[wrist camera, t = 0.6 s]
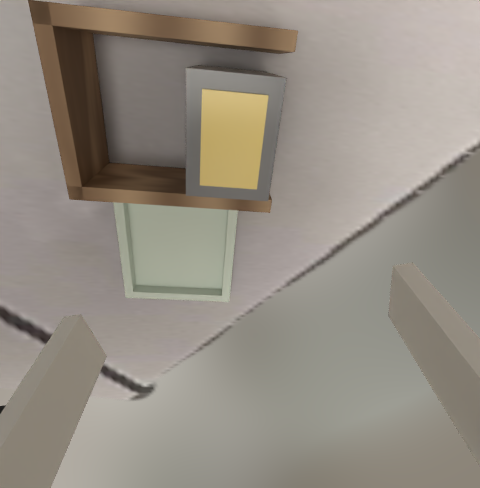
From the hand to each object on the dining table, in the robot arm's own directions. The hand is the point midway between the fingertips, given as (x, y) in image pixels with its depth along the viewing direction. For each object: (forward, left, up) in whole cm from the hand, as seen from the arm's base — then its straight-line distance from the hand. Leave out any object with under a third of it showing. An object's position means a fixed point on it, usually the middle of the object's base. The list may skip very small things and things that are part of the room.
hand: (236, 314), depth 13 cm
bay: (-5, +5, -22) cm, 23 cm away
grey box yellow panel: (0, +5, -22) cm, 23 cm away
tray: (-5, -10, -22) cm, 25 cm away
